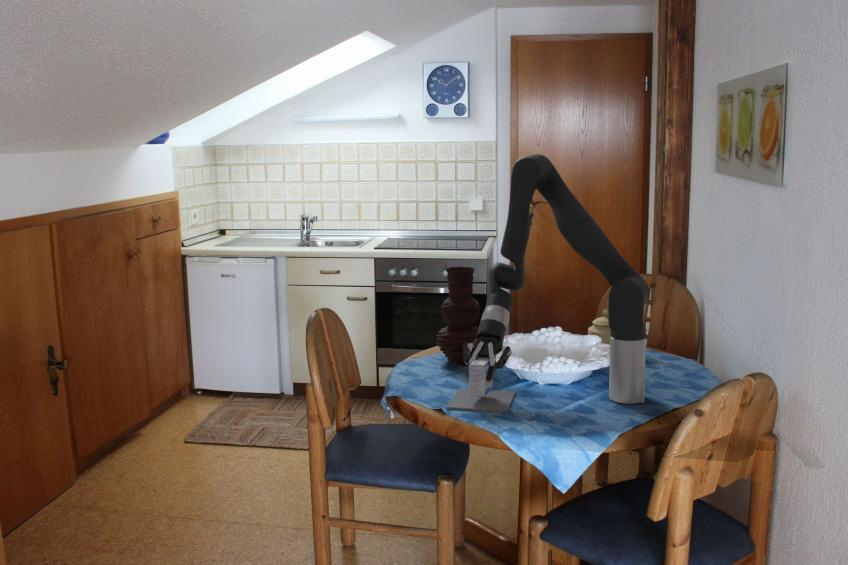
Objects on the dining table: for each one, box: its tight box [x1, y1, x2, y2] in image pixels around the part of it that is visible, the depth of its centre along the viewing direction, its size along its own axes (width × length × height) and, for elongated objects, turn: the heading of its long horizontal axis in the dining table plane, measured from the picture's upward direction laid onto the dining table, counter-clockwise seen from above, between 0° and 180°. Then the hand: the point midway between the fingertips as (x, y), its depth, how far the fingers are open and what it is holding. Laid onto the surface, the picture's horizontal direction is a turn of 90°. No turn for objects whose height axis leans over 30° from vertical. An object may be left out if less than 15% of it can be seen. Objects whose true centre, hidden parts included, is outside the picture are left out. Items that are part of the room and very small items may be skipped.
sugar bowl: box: [587, 308, 610, 345], centre depth 263 cm, size 15×11×15 cm
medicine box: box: [468, 357, 494, 397], centre depth 219 cm, size 8×4×9 cm, turn 158°
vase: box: [436, 265, 481, 366], centre depth 256 cm, size 15×15×30 cm
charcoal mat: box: [446, 388, 516, 414], centre depth 220 cm, size 16×16×1 cm
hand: (479, 379), depth 218 cm, fingers closed on medicine box, 4 cm apart
